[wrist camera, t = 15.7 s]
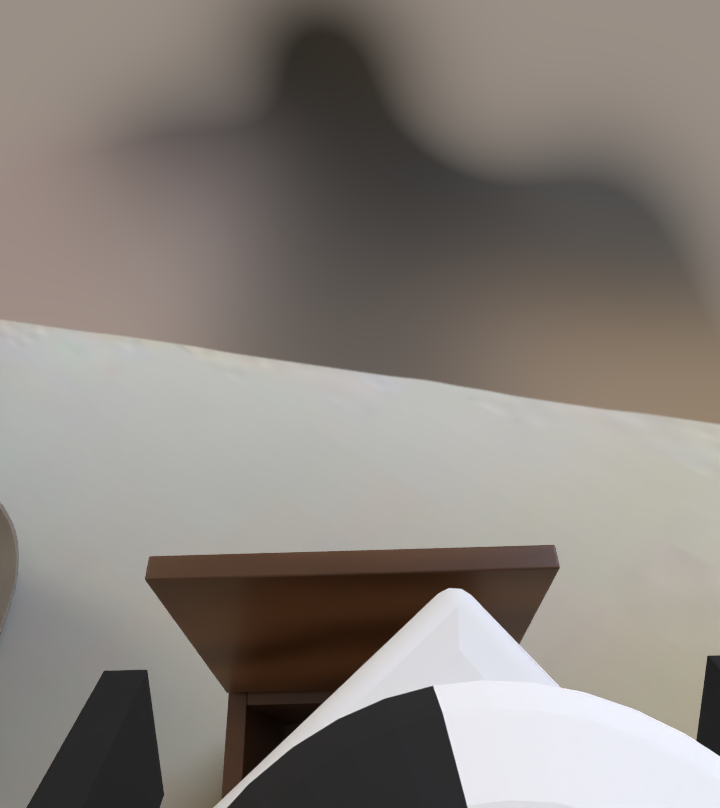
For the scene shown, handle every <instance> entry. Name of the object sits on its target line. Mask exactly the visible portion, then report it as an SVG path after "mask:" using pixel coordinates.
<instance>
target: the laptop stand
mask: <svg viewBox="0 0 720 808" xmlns="http://www.w3.org/2000/svg"><path fill="white" fill-rule="evenodd" d="M18 565H19V553H18V541H17V535H16V531H15V528H14V525H13V522H12V520H11V518H10V516H9V514H8V513H7V511H6V510H5V508H4V506H3V505H2V504H1V503H0V633H1V630H2V627H3V624H4V622H5V619H6V616H7V613H8V610H9V607H10V604H11V600H12V597H13V593H14V590H15V586H16V581H17V576H18Z"/></svg>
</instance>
